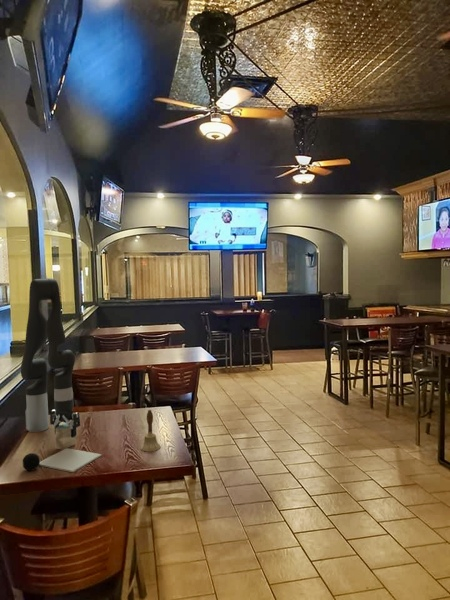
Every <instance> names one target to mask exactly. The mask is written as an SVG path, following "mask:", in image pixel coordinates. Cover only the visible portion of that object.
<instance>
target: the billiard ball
mask: <svg viewBox="0 0 450 600" xmlns="http://www.w3.org/2000/svg"><path fill="white" fill-rule="evenodd" d="M40 460H41V459H40V456H39V455H38V454H36V453H34V452H33V453H32V452H30V453H28V454H26V455H25V456H23V458H22V467H23V468H24V470H26V471H34V470H36V469H37V468H38V467H40V466H39V463H40Z"/></svg>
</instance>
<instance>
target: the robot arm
mask: <svg viewBox="0 0 450 600" xmlns="http://www.w3.org/2000/svg"><path fill="white" fill-rule="evenodd" d="M58 283H59V282H58V281H57V280H56V279H55V278H52V277H51V278H35V279H32V280H31V282H30V284H29V295H28V297H29V299H28V301H29V302H28V304H29V305H28V317H27V323H26V330H25V341H24V342H25V344H24V351H23V356H22V359H21V365H20V376H21V379H23V380H25V381H31V380H36V379H37V380H36V381H35V382H34V383H32V384H31V385H29V386H27V387H26V388H25V400H26V409H25V412H24V413H25V428H26V430H27V431H28V432H30V433H38V432H44V431H46V430H48V429H49V428H50V425H53V427H54V434H55V436H56V430H55V428H56V427H58V426H60V425H61V423H64V424H65V423H67V424H68V425H69V426H70V427H71V437H72V438H73V437H75V438H76V437H77V435H78V434H77V428H79V427H81V418H80V413H79V412H74V411H73V409H74V406H75V405H74V392H73V383H72V375H73V371H74V366H75V362H76V356H75V353H74V351H72V350H70V349H66V350H58V348H59V347H62V346H64V345H65V344H66V343H67V339H66V334H65V330H64V329H65V328H64V324H63V318H62V307H61V294H60V287H59V284H58ZM49 300H50V303H51V310H50V312H49V314H48V315H49V316H48V318H46V316H45V315H44V314H43V312H42V310H41V307H40V302H41V301H49ZM46 341H48V355H47V356H48V357H47V361H46V359H45V358H42V357H40V358H35V356H36V354H37V352H38V351H40V349H41V348H42V347H43V345H44V344H45V343H46ZM47 362H48V364H47ZM48 365H49V367H50V368H51V369H53V370H57V369H62V371H60V372H59V373H56V374H55V375H54V376H53V388H54V389H53V399H54V400H53V401H54V409H52V410H50V412H49V407H48V406H49V403H48ZM49 423H50V424H49ZM72 424H73V425H72Z"/></svg>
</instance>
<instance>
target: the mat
mask: <svg viewBox="0 0 450 600" xmlns="http://www.w3.org/2000/svg"><path fill="white" fill-rule="evenodd" d="M100 457H102V454H100V453H96V452H91V451H84V450H78V449H72V448H69V447H68V448H66V449H64V450H62V449H61V450H60V451H58V452H57V453H54V454H53V455H50V456H47V458H44V459H43V460H41V461H40V463H39V466H38V467H44V468H49V469H54V470H59V471H65V472H69V473H70V472H71V473H74V472H76V471H78V470H80V469H81V468H83V467H85V466H86V465H88V464H91V462H93V461H95V460H97V459H99V458H100Z"/></svg>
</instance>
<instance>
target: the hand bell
mask: <svg viewBox="0 0 450 600" xmlns="http://www.w3.org/2000/svg"><path fill="white" fill-rule="evenodd" d="M153 421H154V416H153V412H152V410H151V409H148V410H147V413H146V422H147V433H146V434H145V435H144V440H143V443H142V445H141V446H140V448H139V449H140V450H141V451H142V452H149V453H150V452H156V451H158V450H160V449H161V444H159V443H158V441H157V437H156V434H155V433H154V432H153Z"/></svg>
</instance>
